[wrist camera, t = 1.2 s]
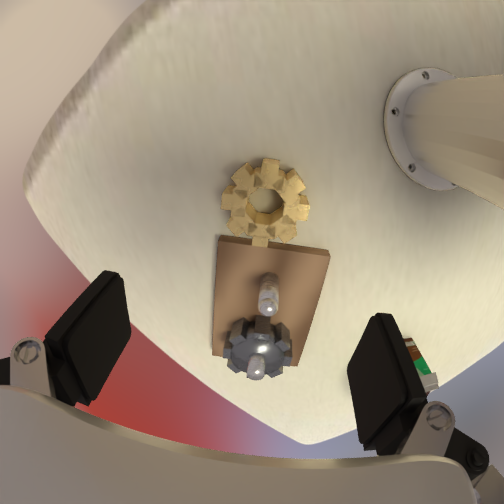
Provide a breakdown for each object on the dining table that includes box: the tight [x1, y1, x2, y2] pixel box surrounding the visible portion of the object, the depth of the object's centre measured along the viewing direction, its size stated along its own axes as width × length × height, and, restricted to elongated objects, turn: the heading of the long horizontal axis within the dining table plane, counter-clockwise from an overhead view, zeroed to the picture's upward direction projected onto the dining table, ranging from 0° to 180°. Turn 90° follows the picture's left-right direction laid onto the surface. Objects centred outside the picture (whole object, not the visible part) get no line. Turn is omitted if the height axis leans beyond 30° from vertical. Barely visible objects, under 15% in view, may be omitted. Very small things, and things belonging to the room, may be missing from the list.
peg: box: [258, 272, 279, 317], centre depth 26 cm, size 2×2×5 cm
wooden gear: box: [221, 158, 310, 248], centre depth 25 cm, size 7×7×3 cm
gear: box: [223, 315, 293, 380], centre depth 30 cm, size 8×8×6 cm
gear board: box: [212, 235, 330, 366], centre depth 31 cm, size 11×16×2 cm
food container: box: [404, 338, 439, 396], centre depth 31 cm, size 12×6×10 cm, turn 1°
